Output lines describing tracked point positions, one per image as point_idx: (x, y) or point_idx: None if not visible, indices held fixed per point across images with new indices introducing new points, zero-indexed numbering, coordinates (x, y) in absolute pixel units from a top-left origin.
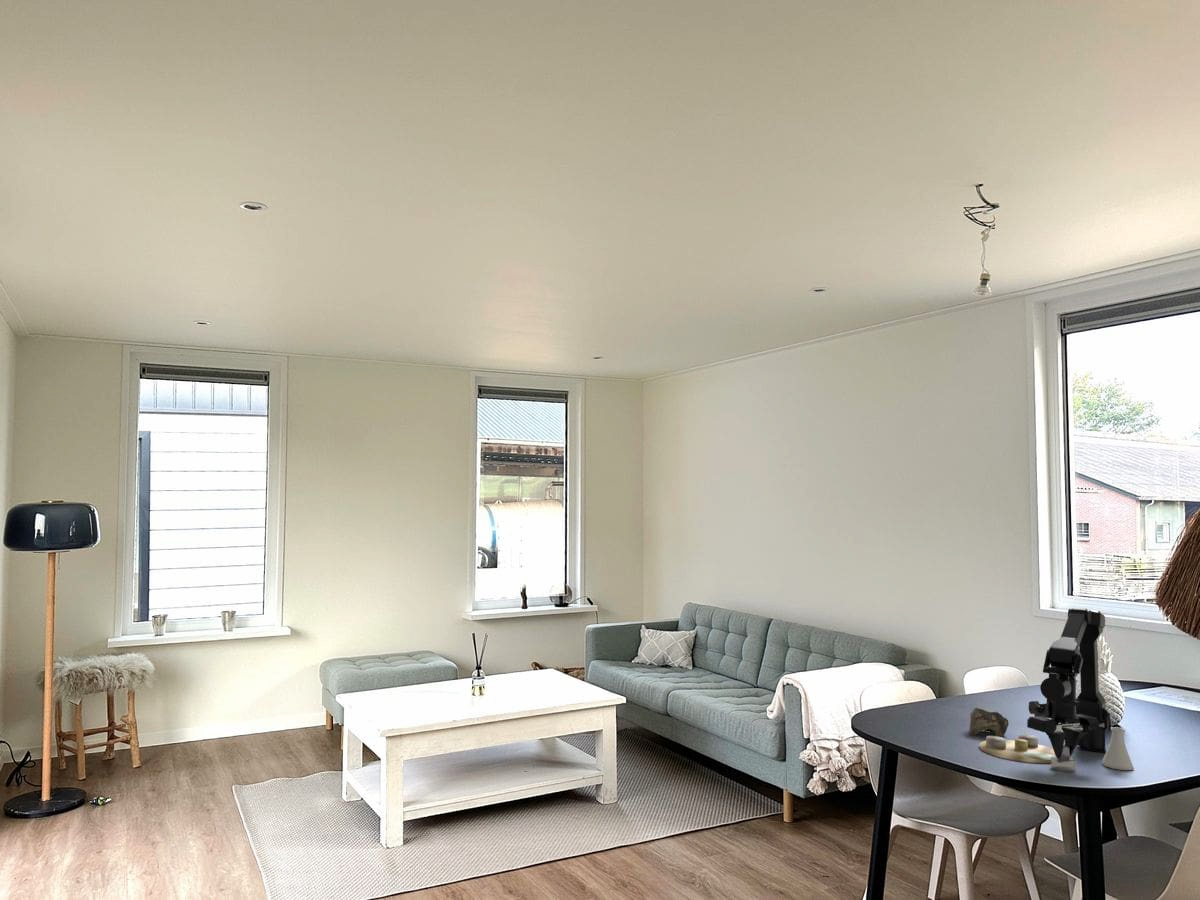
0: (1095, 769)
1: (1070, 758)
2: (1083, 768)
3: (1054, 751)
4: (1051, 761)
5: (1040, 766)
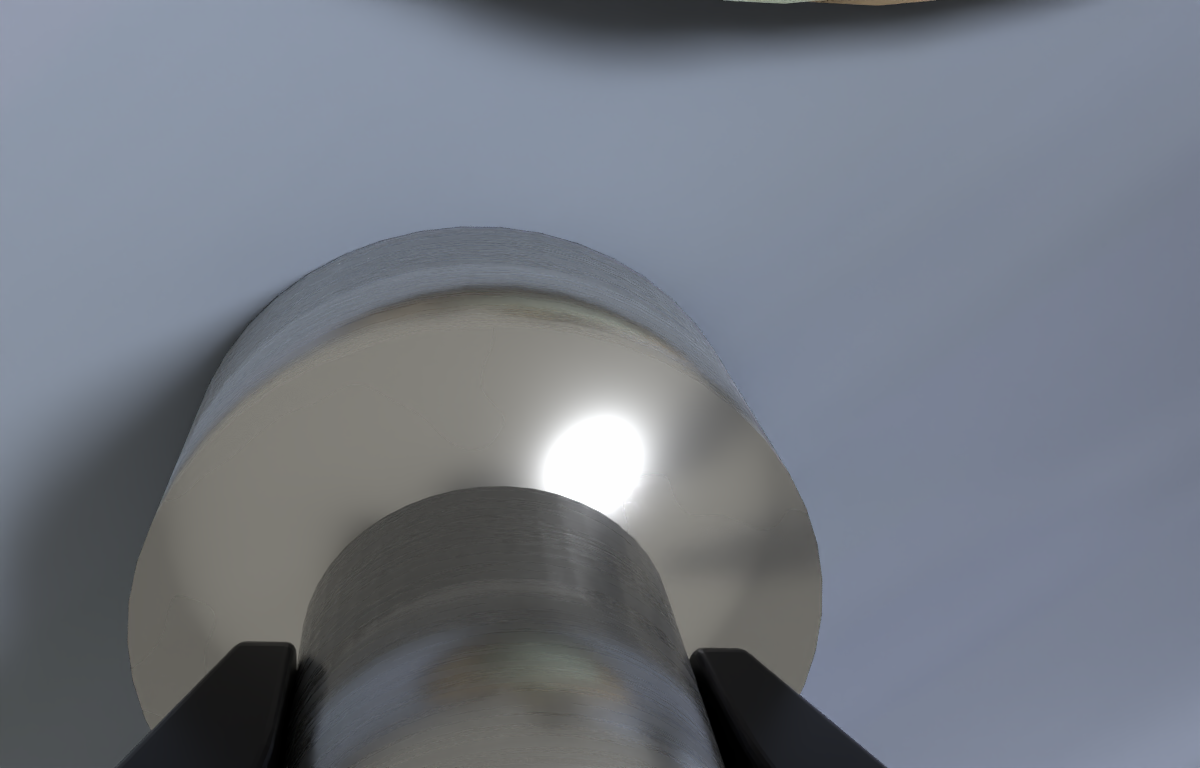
0: (1181, 656)
1: (812, 627)
2: (1025, 553)
3: (136, 765)
4: (189, 441)
5: (20, 125)
